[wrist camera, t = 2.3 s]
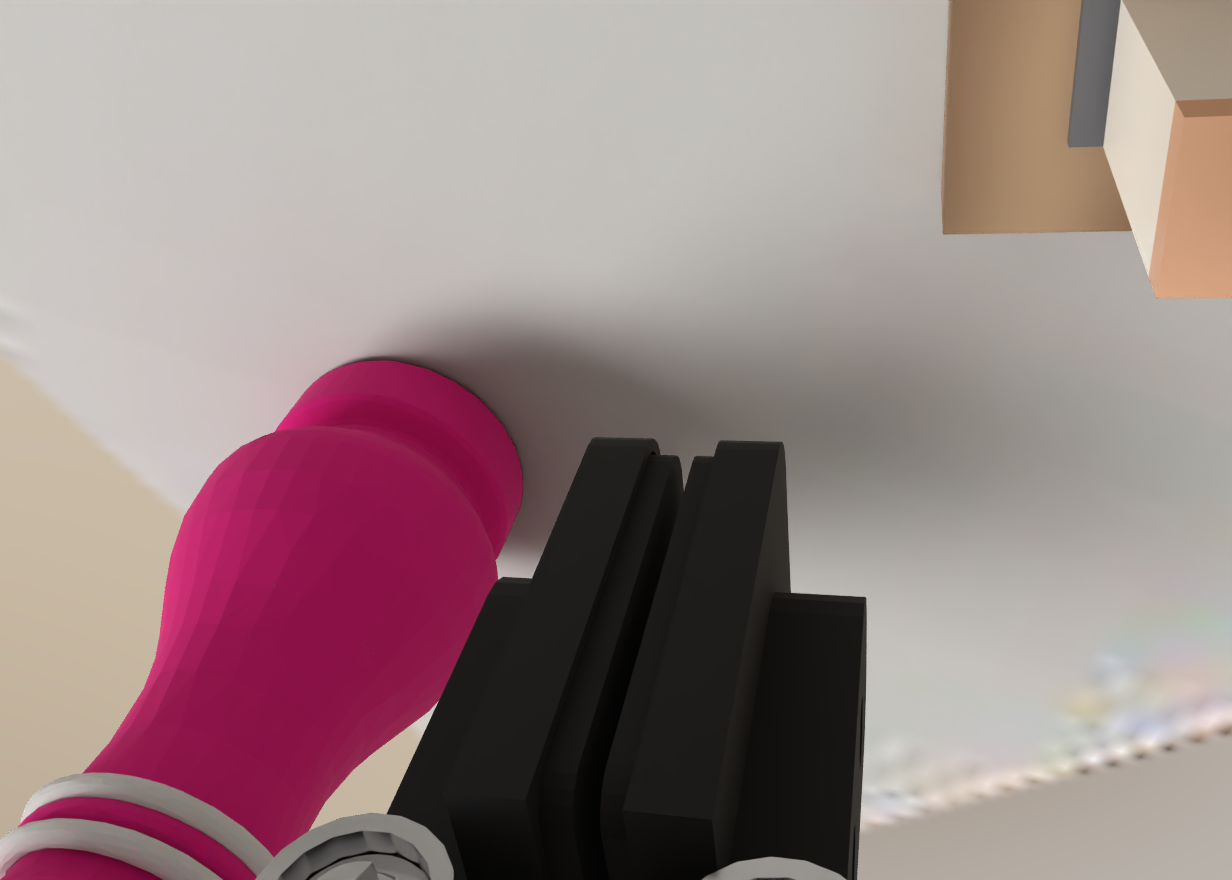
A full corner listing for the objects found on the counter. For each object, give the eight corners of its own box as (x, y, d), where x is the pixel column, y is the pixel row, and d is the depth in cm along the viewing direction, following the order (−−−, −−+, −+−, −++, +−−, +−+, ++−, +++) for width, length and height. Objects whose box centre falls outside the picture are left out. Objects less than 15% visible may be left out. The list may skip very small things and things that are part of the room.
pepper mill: (578, 407, 28) (125, 1460, 12) (503, 604, 32) (98, 1569, 16) (298, 295, 28) (-541, 1209, 12) (260, 507, 32) (-390, 1387, 16)
